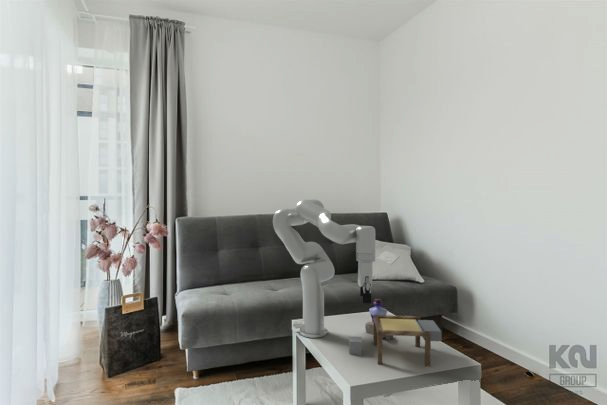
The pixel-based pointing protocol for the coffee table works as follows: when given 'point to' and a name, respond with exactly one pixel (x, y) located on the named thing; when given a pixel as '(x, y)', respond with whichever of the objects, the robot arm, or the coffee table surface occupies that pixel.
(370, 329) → the concrete fragment
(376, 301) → the potion bottle
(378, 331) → the frame
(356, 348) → the smooth grey cube
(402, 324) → the trapdoor
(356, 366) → the coffee table surface
